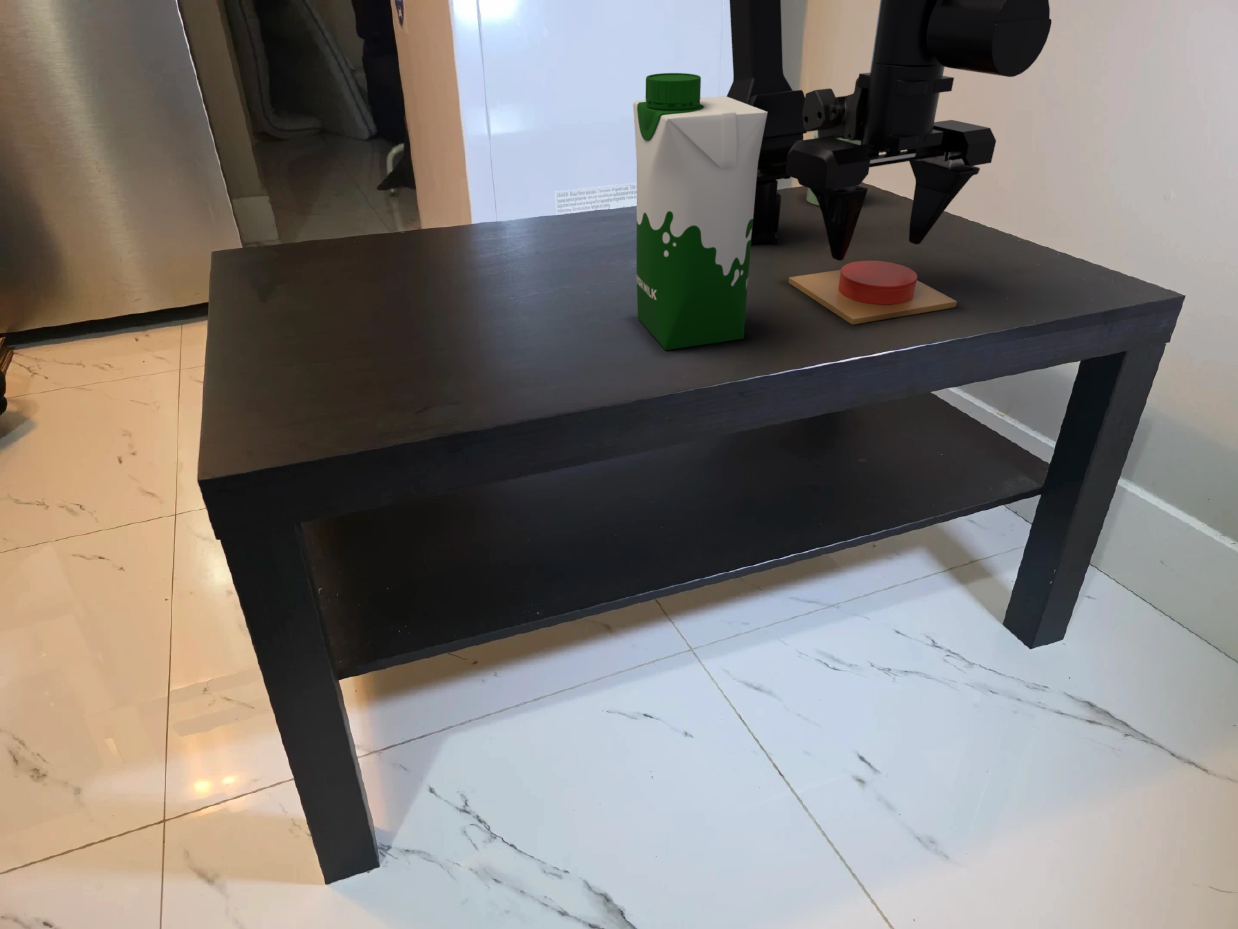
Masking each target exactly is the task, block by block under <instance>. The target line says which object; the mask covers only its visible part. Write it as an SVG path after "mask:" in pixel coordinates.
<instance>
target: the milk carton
mask: <svg viewBox="0 0 1238 929" xmlns="http://www.w3.org/2000/svg"><path fill="white" fill-rule="evenodd" d="M701 87H702V78H701V76H700V75H698V74H695V73H687V72H686V73H684V72H663V73H654V74H649V75H646V77H645V97H644V98H645V99H644V100H642V99H641V100H635V101H633V103H632V108H633V110H632V111H633V124H634V139H635V141H634V142H635V155H636V156H635V158H636V159H635V160H636V297H637V300H636V301H637V302H636V303H637V319H638V321H640V323H641V324H642V325H643V326H644V328H645V329H646V330H647V331H648V332H649V333H650V334H651V336H652V337H653V338H654V339H655V340H656V341H657V342H658V344H659V345H660V346H661V347H662V348H663V349H664V350H665V351H669V350H676V349H677V350H678V349H683V348H684V349H685V348H689V347H696V346H697V347H698V346H704V345H709V344H717V343H724V342H731V341H736V340H742V339H744V338H745V326H746V312H747V298H748V287H749V275H750V273H749V272H750V263H751V262H750V260H751V248H752V243H751V238H752V226H753V214H754V202H755V190H756V178H757V167H758V159H759V154H760V148H761V143H762V138H763V133H764V128H765V123H766V118H767V113H768V112H766V111H764V110H761V109H758V108H756V107H753V106H750V105H748V104H745V103H742V102H740V101H737V100H734V99H732V98H729V97H726V96H727V95H722V96H707V97H705V96H703V97H701Z"/></svg>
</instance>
